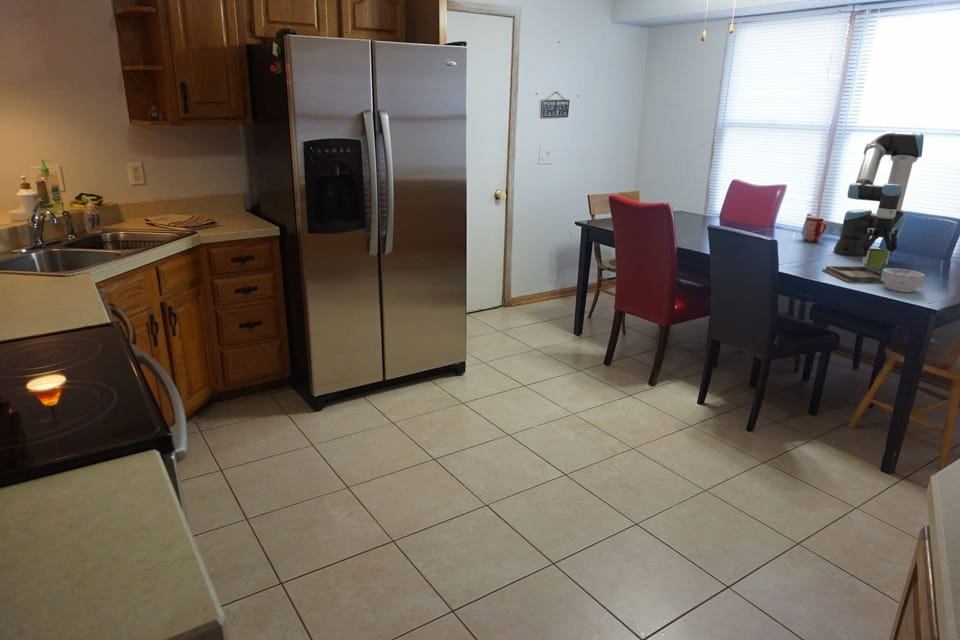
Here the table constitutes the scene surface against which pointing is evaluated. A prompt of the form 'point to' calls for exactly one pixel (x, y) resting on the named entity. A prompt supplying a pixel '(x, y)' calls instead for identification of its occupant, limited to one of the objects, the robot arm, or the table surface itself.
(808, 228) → the mug
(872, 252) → the plant pot
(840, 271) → the wooden tray
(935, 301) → the table surface
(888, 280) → the paper bowls
